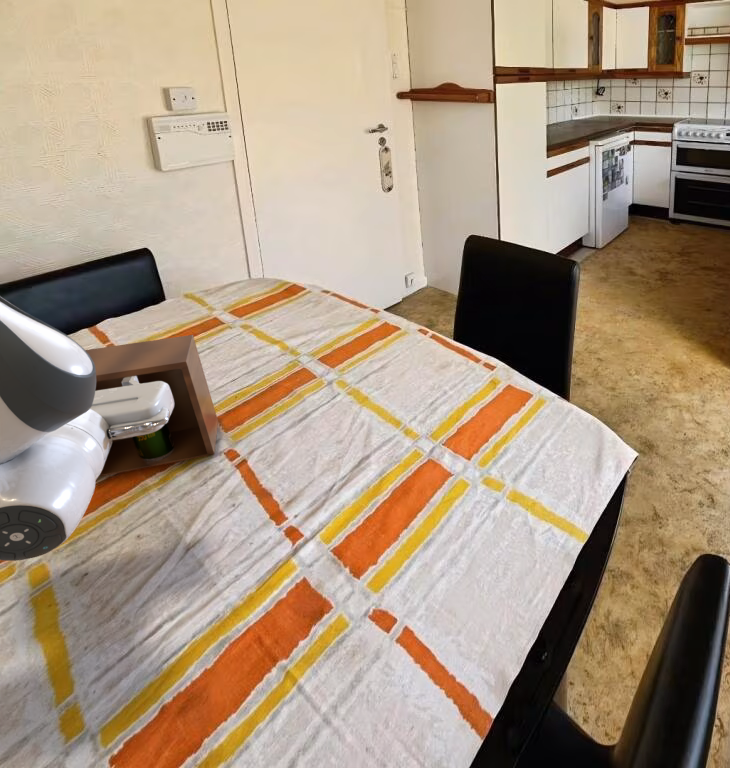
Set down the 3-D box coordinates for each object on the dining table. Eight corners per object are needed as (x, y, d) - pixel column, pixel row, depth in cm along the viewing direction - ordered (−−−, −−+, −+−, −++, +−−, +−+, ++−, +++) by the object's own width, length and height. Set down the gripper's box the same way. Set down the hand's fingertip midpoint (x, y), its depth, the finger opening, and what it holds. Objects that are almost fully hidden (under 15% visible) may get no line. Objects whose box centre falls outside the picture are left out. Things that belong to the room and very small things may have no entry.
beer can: (172, 440, 107) (151, 379, 101) (179, 454, 103) (157, 391, 98) (137, 452, 104) (113, 389, 99) (143, 466, 100) (119, 402, 95)
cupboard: (93, 482, 99) (51, 382, 90) (107, 445, 108) (70, 352, 99) (215, 458, 104) (186, 361, 95) (219, 425, 113) (192, 334, 105)
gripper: (158, 402, 70) (173, 353, 82) (-60, 438, 64) (-11, 379, 76) (174, 448, 73) (185, 394, 85) (-33, 486, 67) (9, 423, 79)
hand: (91, 387), depth 80 cm, fingers open, 8 cm apart
